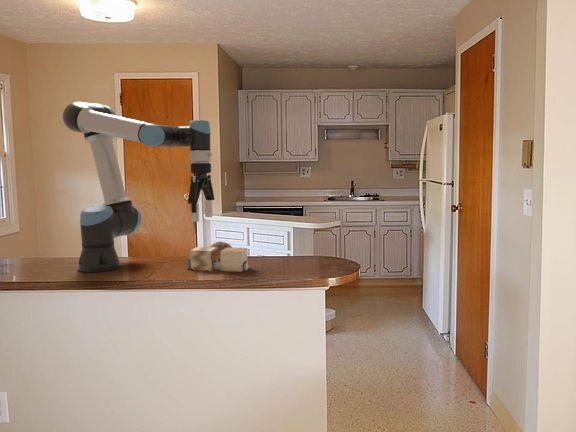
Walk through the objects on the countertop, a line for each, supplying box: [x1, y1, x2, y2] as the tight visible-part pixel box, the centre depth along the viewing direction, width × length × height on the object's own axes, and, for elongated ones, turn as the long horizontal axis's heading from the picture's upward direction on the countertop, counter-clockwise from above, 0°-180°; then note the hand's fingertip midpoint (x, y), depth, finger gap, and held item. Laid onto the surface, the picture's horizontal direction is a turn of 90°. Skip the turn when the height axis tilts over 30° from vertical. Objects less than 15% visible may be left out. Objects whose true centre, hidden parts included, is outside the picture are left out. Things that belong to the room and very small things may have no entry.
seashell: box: [209, 241, 233, 261], centre depth 213 cm, size 10×9×10 cm
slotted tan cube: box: [189, 246, 219, 272], centre depth 197 cm, size 9×7×8 cm
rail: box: [186, 247, 249, 273], centre depth 196 cm, size 23×7×8 cm, turn 78°
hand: (202, 219), depth 195 cm, fingers open, 13 cm apart
